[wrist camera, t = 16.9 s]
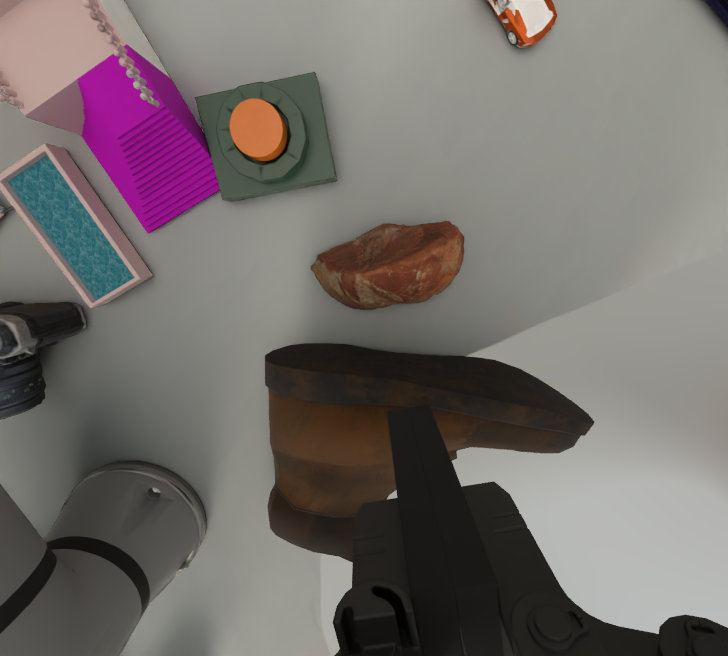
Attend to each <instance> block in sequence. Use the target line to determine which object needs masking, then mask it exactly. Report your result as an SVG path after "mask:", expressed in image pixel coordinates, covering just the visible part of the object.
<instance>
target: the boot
mask: <svg viewBox="0 0 728 656" xmlns="http://www.w3.org/2000/svg"><path fill="white" fill-rule="evenodd" d="M265 383H266V386H267V387H268V389H269V421H270V444H271V447H272V451H273V455H274V465H275V485H274V487H273V489H272V491H271V493H270V497H269V502H268V514H269V521H270V528H271V530H272V531H273V532H274V533H275V534H276V535H277V536H279V537H280V538H282V539H284V540H286V541H288V542H290V543H291V544H294V545H296V546H299V547H302V548H304V549H307V550H310V551H313V552H317V553H323V554H328V555H334V556H340V557H342V558H344V559H346V560H348V561H351V562H353V556H354V555H353V542H354V519H355V517H356V515H357V513H358V511H359V509H360V507H361V505H362V503H369V502H375V501H382V500H386V499H387V497H388V496H389V495H390V494H391V493H392V492H394V491H395V490H397V489H396V481H395V473H394V465H393V458H392V450H391V442H390V434H389V427H388V419H387V411H389V410H395V409H401V408H407V407H413V406H419V405H425V404H430V406H431V409H432V411H433V414H434V417H435V419H436V422H437V425H438V427H439V430H440V432H441V435H442V438H443V440H444V443H445V446H446V448H447V451H448V453H449V456H450V459H451V461H452V460H454V459H456V458H457V454H456V451H457V450H460V449H465V448H469V447H483V448H494V449H507V450H515V451H520V452H534V453H560V452H562V451H565V450H567V449H569V448H571V447H573V446H574V445H575V443H576V442H577V440H578V439H579V438H580V436H581V435H586V433H587V432H588V431H589V429H590V428H591V427H592V425H593V424H594V421H593V420H592V418H591V417H590V416H589V415H588V414H587V413H586V412H585V411H584V410H582V409H581V408H580V407H579V406H577V405H576V404H575V403H573V402H572V401H571V400H569V399H568V398H566V397H565V396H564V395H562V394H561V393H559V392H558V391H556V390H555V389H553V388H552V387H550V386H549V385H547V384H546V383H544V382H542V381H540V380H539V379H538V378H536V377H534V376H532V375H530V374H528V373H526V372H524V371H523V370H521V369H519V368H516V367H513V366H510V365H507V364H504V363H502V362H499V361H496V360H490V359H484V358H476V357H464V356H437V355H420V354H406V353H394V352H387V351H380V350H373V349H367V348H362V347H357V346H352V345H345V344H299V345H290V346H287V347H283V348H280V349H277V350H273V351H272V352H270V353H268V354H267V355H265Z"/></svg>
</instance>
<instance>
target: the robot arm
mask: <svg viewBox="0 0 728 656" xmlns="http://www.w3.org/2000/svg"><path fill="white" fill-rule="evenodd" d="M387 419H388V427H389V434H390V442H391V450H392V458H393V465H394V473H395V481H396V489H397V496H398V498H395V499H388V500H382V501H375V502H369V503H362V505H361V507H360V509H359V511H358V513H357V515H356V517H355V519H354V542H353V555H354V556H353V575H352V588H351V589H350V590H349V591H347V592H346V593H345V595H344V596H343V598H342V599H341V601H340V602H339V604H338V605H337V608H336V612H335V616H334V620H333V624H334V628H335V632H336V635H337V639H338V643H339V647H340V650H339V651H338V653H337V654H336V655H335V656H728V628H727V627H724V626H722V625H720V624H718V623H715V622H713V621H711V620H708V619H706V618H700V617H695V616H689V615H682V616H676V617H671V618H669V619H668V620H666V621H665V622H664V623H663V624H662V625H661V626H660V629H659V634H655V633H650V632H645V631H639V630H634V629H629V628H624V627H619V626H616V625H612V624H609V623H605V622H603V621H601V620H599V619H597V618H595V617H593V616H591V615H589V614H588V613H586V612H585V611H583V610H582V609H581V608H580V607H579V606H577V605H576V604H575V603H574V602H573V601H572V600H571V599H570V598H568V596H567V595H566V594H565V592H564V591H563V589H562V588H561V586H560V585H559V583H558V581H557V580H556V577H555V576H554V574H553V572H552V570H551V568H550V567H549V565H548V563H547V561H546V559H545V557H544V556H543V554H542V552H541V550H540V549H539V547H538V545H537V543H536V541H535V539H534V538H533V536H532V534H531V532H530V530H529V529H528V528H527V525H526V523H525V521H524V519H523V518H522V516H521V514H519V510H518V509H517V507H516V505H515V503H514V501H513V500H512V498H511V496H510V494H508V493H507V492H506V491H505V490H504V489H502V488H501V487H500V486H499V485H498V484H496V483H495V482H488V483H482V484H476V485H469V486H463V487H461V485H460V483H459V480H458V477H457V475H456V472H455V469H454V467H453V464H452V462H451V459H450V456H449V453H448V451H447V448H446V446H445V443H444V440H443V438H442V435H441V432H440V430H439V427H438V425H437V422H436V419H435V417H434V414H433V411H432V409H431V406H430V404H425V405H419V406H413V407H407V408H401V409H395V410H389V411H387ZM205 531H206V516H205V512H204V508H203V506H202V504H201V501H200V500H199V498H198V496H197V495H196V493H195V492H194V491H193V490H192V488H191V487H190V486H189V485H188V484H187V483H186V482H184V481H183V480H182V479H181V478H179V477H178V476H177V475H175V474H173V473H172V472H170V471H168V470H166V469H164V468H161V467H159V466H156V465H153V464H149V463H144V462H135V461H124V462H116V463H112V464H108V465H105V466H103V467H101V468H99V469H97V470H95V471H94V472H92V473H91V474H90V475H88V476H87V477H86V478H85V479H84V480H83V481H82V482H81V483H80V484H78V485H77V486H76V487H75V488H74V489H73V490H72V492H71V493H70V495H69V496H68V498H67V499H66V501H65V503H64V505H63V507H62V509H61V513H60V514H59V516H58V517H57V519H56V521H55V522H54V524H53V526H52V527H51V529H50V531H49V532H48V534H47V536H46V537H45V539H44V540H43V538H42V537H41V536H40V534H39V533H38V532H37V530H36V529H35V528H34V527H33V525H32V524H31V523H30V521H29V520H28V519H27V518H26V516H25V515H24V514H23V512H22V511H21V510H20V509H19V507H18V506H17V505H16V503H15V502H14V501H13V500H12V498H11V497H10V496H9V494H8V493H7V492H6V491H5V489H4V488H3V487H2V485H1V484H0V656H120V654H121V652H122V651H123V649H124V647H125V645H126V643H127V642H128V640H129V638H130V636H131V634H132V633H133V631H134V629H135V627H136V626H137V624H138V622H139V620H140V618H141V617H142V615H143V613H144V611H145V610H146V608H147V606H148V605H149V603H150V602H151V601H152V600H153V599H154V598H155V597H156V596H157V595H158V594H159V593H160V592H161V591H162V590H163V589H164V588H165V587H166V586H167V585H168V584H169V583H170V582H171V581H172V580H173V578H174V577H175V576H177V575H178V574H179V573H180V572H181V571H182V570H183V569H184V568H187V567H188V565H189V563H190V562H191V561H192V559H193V558H194V556H195V554H196V552H197V551H198V549H199V547H200V545H201V543H202V541H203V538H204V535H205Z"/></svg>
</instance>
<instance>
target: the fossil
mask: <svg viewBox="0 0 728 656" xmlns="http://www.w3.org/2000/svg"><path fill="white" fill-rule="evenodd" d="M463 245H464V236H463V234H462V233H461V232H460V231H459V229H458V227H456V226H455V225H452V224H451V223H450V221H444V222H437V223H428V224H421V225H416V226H406V225H397V224H382V225H380V226H378V227H376V228H374V229H372V230H370V231H369V232H367V233H365V234H363V235H361V236H359V237H358V238H356V240H354V241H351V242H348V243H345V244H342V245H339V246H337V247H335V248H332V249H330V250H329V251H326V252H323V253H321V254H319V255H317V260H316V261H315V262H314V264H313V265H312V266H311V270H312V271H313V272H314V273H315V276H316V278H317V279H318V281H319V282H320V284H321V285H322V287H323V288H324V290H326V291H327V292H328V294H329V295H330V296H331V297H333V298H335V299H336V300H338V301H339V302H341V303H343V304H344V305H346V306H349V307H351V308H354V309H362V310H373V309H376V308H383V307H387V306H389V305H392V304H399V303H420V302H424V301H426V300H428V299H429V298H430V297H432V296H433V295H436V294H439V293H441V292H442V291H443V290H444V289H445V288H447V287H448V286H449V285H450V284H451V282H452V281H453V279H454V278H455V276H456V275H457V273H458V272H459V270H460V267H461V264H462V261H463V255H464V247H463Z"/></svg>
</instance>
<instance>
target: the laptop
mask: <svg viewBox="0 0 728 656" xmlns="http://www.w3.org/2000/svg"><path fill="white" fill-rule="evenodd" d="M706 1H707V2H708V4H709V5H710V6H711V7H712V8H713V10H714V11H715V12H716V13H717V14H718V16H719V17H720V18H721V19H722V20H723V22H724V23H725V24H726V25H727V26H728V0H706Z"/></svg>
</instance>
